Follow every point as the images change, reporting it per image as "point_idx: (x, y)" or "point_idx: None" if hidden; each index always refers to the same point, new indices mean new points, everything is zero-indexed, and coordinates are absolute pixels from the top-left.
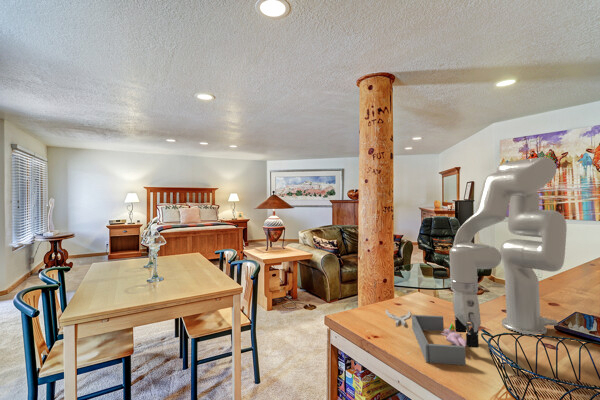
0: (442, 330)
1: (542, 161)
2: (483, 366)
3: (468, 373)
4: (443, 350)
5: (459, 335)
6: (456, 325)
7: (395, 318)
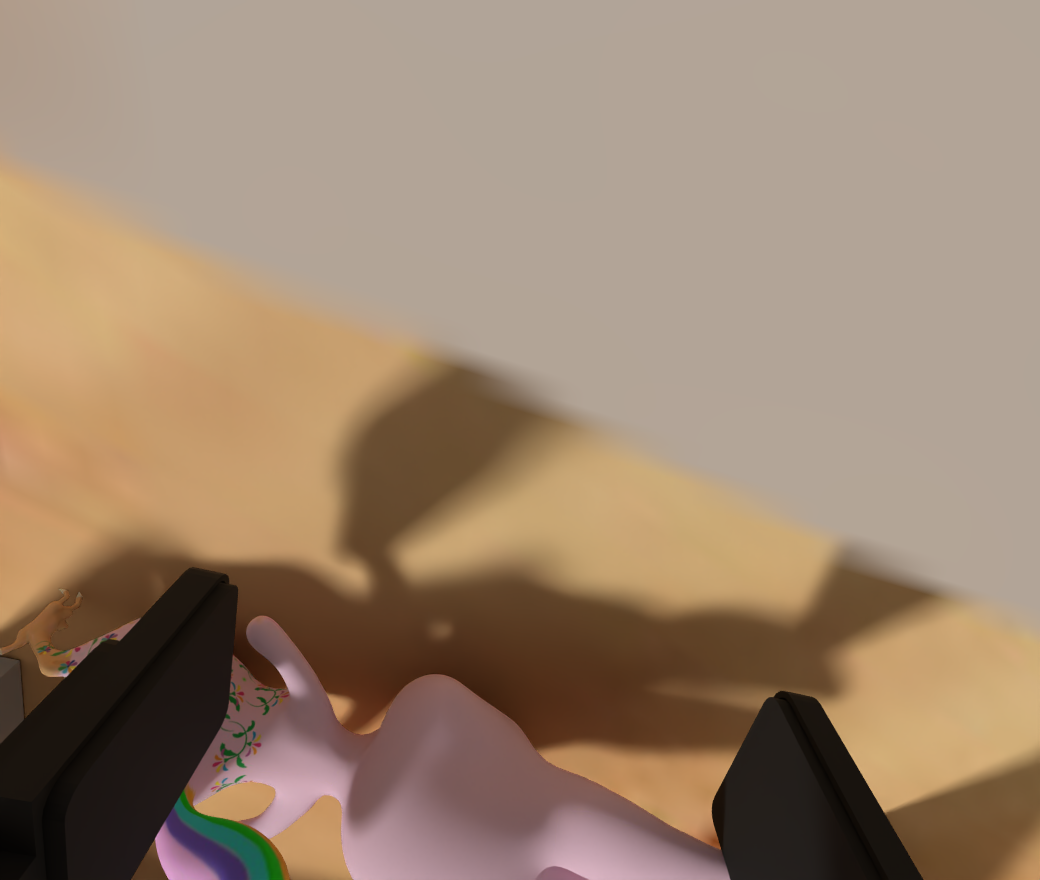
0: (12, 683)
1: None
2: (982, 693)
3: (1015, 875)
4: None
5: (499, 865)
6: (150, 835)
7: None
